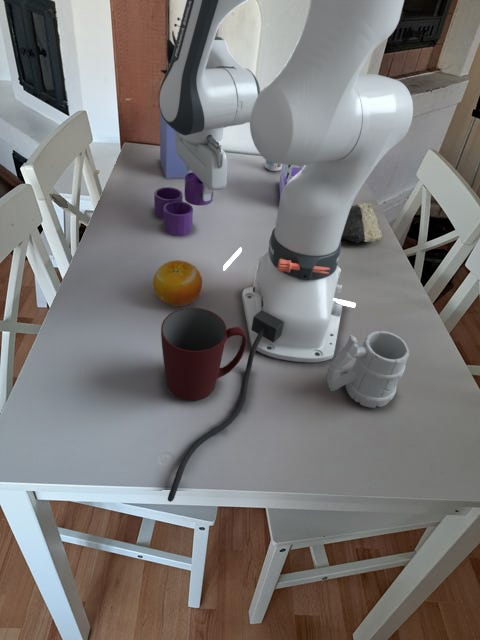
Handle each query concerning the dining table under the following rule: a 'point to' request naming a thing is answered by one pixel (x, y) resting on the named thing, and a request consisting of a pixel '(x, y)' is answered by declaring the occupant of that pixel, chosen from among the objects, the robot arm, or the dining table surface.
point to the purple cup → (165, 199)
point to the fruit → (177, 283)
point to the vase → (170, 135)
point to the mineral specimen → (362, 224)
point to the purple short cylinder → (194, 190)
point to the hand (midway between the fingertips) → (199, 191)
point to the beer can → (272, 166)
